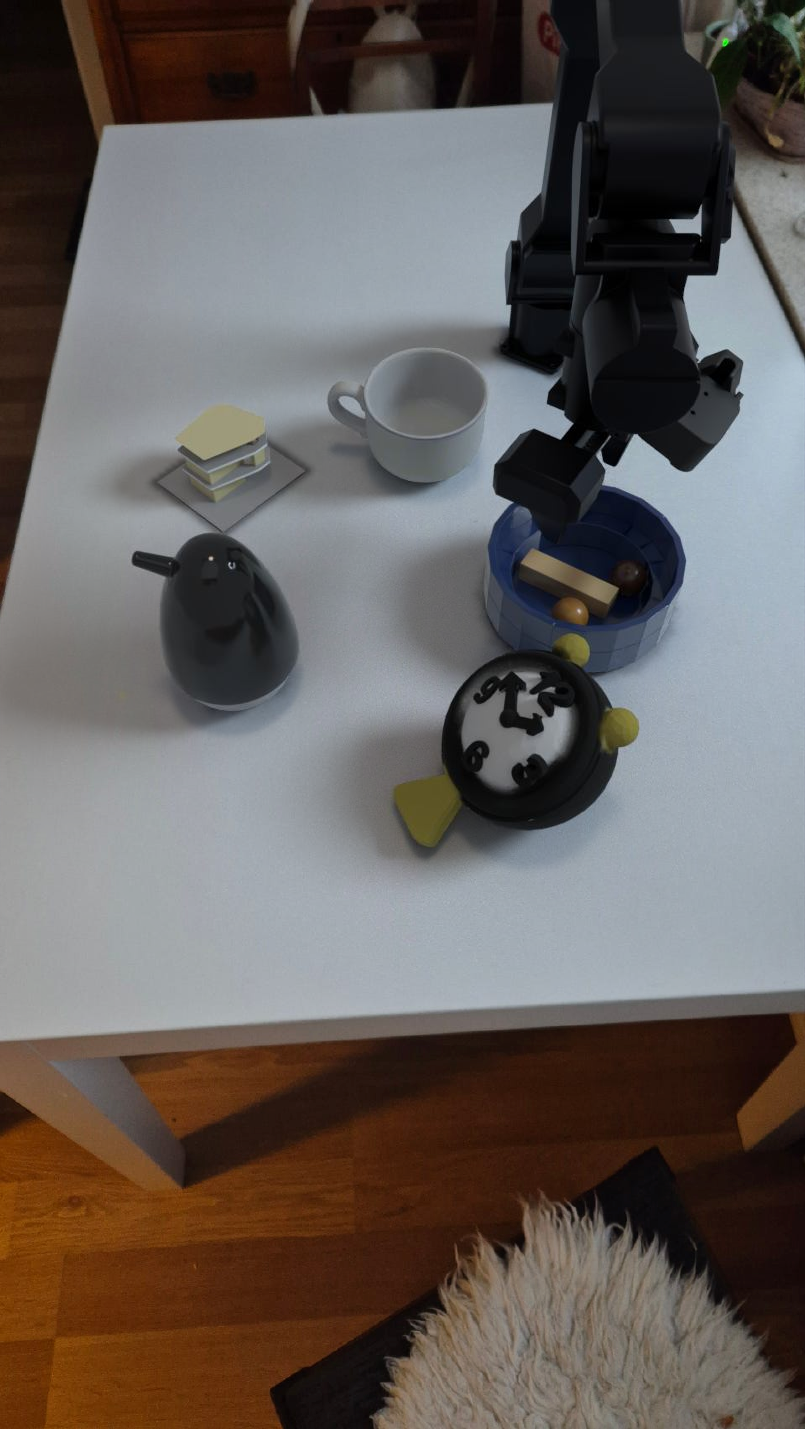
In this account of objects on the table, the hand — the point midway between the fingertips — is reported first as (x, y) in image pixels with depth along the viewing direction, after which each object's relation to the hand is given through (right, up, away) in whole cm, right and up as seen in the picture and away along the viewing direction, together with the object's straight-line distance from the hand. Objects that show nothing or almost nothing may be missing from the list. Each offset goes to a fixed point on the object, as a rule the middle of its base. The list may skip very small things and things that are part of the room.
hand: (582, 501), depth 74 cm
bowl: (+1, -6, +9) cm, 11 cm away
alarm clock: (-5, -21, 0) cm, 22 cm away
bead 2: (+5, -5, +8) cm, 10 cm away
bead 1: (0, -8, +6) cm, 10 cm away
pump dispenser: (-26, -13, +6) cm, 30 cm away
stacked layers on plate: (-29, +6, +17) cm, 34 cm away
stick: (0, -6, +9) cm, 10 cm away
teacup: (-13, +8, +19) cm, 24 cm away
